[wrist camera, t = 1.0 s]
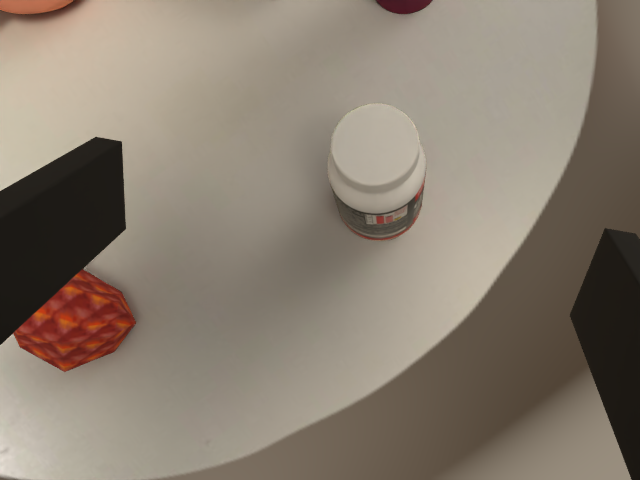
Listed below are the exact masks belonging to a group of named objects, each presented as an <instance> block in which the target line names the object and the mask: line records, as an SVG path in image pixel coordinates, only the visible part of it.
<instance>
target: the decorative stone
mask: <svg viewBox="0 0 640 480" xmlns="http://www.w3.org/2000/svg"><path fill="white" fill-rule="evenodd" d="M135 324H136V321H135V319H134V317H133V315H132V313H131V311H130V309H129V307H128V304H127V302H126V300H125V298H124V296H123V294H122V292H121V291H119V290H117V289H116V288H114V287H112V286H110V285H109V284H107V283H105V282H104V281H102V280H100V279H98V278H97V277H95V276H93V275H91V274H90V273H88V272H86V271H85V270H83V269H82V270H81V271H80V272H79V273H78V274H76V275H75V276H74V277H73V278H72V279H71V280H70V281H69V282H68V283H67V284H66V285H65V286H64V287H62V288H61V289H60V290H59V291H58V292H57V293H56V294H55V295H54V296H53V297H52V298H51V299H49V300H48V301H47V302H46V303H45V304H44V305H43V306H42V307H41V308H40V309H39V310H38V311H36V312H35V313H34V314H33V315H32V316H31V317H30V318H29V319H28V320H27V321H26V322H25V323H24V324H22V325H21V326H20V327H19V328H18V329H17V330H16V331H15V332H14V336H15V338H16V340H17V342H18V344H19V346H20V347H21V348H22V349H24V350H26V351H28V352H30V353H31V354H33V355H35V356H37V357H39V358H40V359H42V360H44V361H46V362H48V363H49V364H51V365H53V366H55V367H57V368H59V369H60V370H62V371H64V372H66V371H68V370H71V369H73V368H76V367H78V366H80V365H83V364H85V363H88V362H90V361H93V360H95V359H98V358H100V357H102V356H105V355H107V354H110V353H112V352H114V351H115V350H116V349H117V347H118V346H119V345H120V343H121V342H122V341H123V339H124V338H125V337H126V335H127V334H128V333H129V332H130V330H131V329H132V328H133V326H134V325H135Z"/></svg>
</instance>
